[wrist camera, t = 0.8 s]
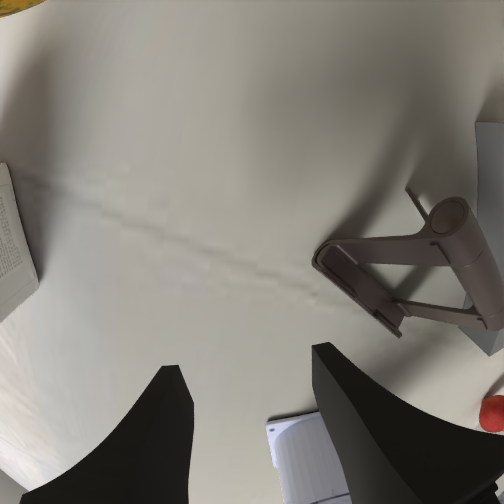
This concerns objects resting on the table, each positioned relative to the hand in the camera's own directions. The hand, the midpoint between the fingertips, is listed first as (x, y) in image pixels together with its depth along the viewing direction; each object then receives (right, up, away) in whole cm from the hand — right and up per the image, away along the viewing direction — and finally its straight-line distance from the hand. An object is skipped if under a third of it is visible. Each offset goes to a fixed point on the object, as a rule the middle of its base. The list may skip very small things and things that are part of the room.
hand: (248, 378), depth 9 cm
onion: (+36, -18, +19) cm, 44 cm away
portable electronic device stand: (+9, +4, +8) cm, 13 cm away
